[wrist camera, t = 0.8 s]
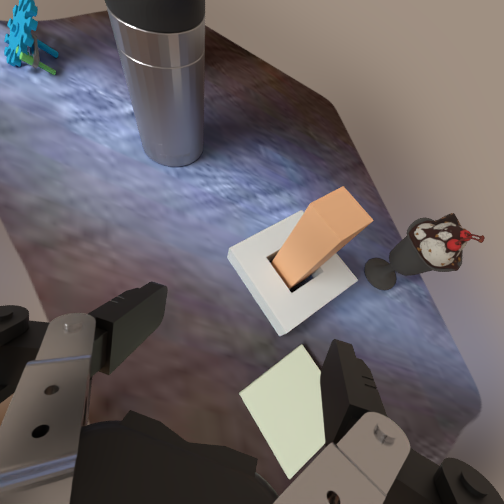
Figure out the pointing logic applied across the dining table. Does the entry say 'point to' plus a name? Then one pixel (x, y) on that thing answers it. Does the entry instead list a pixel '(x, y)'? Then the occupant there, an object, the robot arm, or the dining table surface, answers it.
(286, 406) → the pad
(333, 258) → the socket block
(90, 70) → the dining table surface
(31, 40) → the gear
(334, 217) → the peg
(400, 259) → the sundae
